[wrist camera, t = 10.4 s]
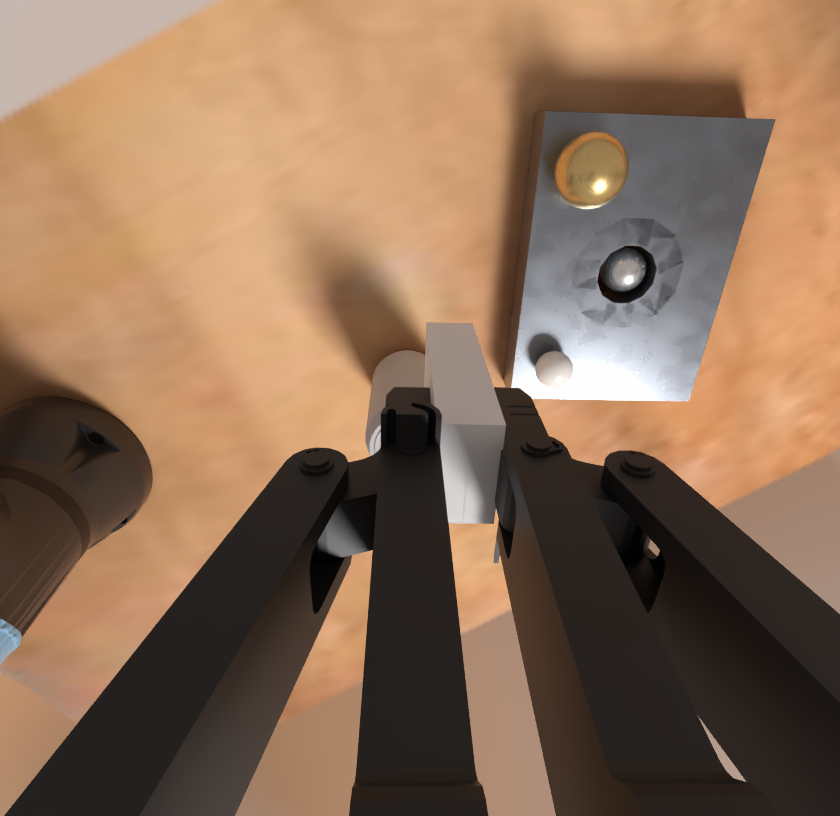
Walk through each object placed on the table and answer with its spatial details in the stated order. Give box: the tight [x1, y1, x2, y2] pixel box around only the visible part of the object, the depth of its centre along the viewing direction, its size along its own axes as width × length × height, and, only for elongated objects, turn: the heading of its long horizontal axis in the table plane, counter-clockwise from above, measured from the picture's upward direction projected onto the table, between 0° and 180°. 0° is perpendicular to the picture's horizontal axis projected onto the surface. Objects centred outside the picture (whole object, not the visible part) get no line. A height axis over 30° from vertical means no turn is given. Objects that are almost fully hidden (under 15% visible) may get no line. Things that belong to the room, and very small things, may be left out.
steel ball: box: [600, 247, 646, 292], centre depth 43 cm, size 4×4×4 cm
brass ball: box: [554, 131, 629, 209], centre depth 36 cm, size 5×5×5 cm
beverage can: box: [365, 350, 425, 456], centre depth 44 cm, size 6×6×12 cm
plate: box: [504, 111, 775, 401], centre depth 43 cm, size 16×22×4 cm
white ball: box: [535, 351, 573, 387], centre depth 44 cm, size 3×3×3 cm
